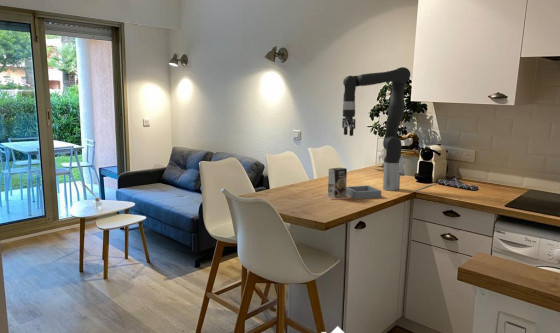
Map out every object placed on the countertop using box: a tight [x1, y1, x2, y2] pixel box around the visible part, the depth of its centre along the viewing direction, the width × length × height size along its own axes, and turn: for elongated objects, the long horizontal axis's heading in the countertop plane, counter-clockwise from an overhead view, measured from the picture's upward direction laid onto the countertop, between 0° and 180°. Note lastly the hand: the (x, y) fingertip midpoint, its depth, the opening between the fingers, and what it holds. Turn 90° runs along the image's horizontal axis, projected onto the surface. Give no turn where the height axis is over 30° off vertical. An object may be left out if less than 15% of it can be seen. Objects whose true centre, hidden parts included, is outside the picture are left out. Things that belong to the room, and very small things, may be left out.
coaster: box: [322, 193, 352, 201], centre depth 241 cm, size 12×12×1 cm
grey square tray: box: [346, 185, 382, 200], centre depth 245 cm, size 16×16×4 cm
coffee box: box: [327, 167, 348, 198], centre depth 240 cm, size 9×6×16 cm
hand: (348, 135), depth 258 cm, fingers open, 8 cm apart
